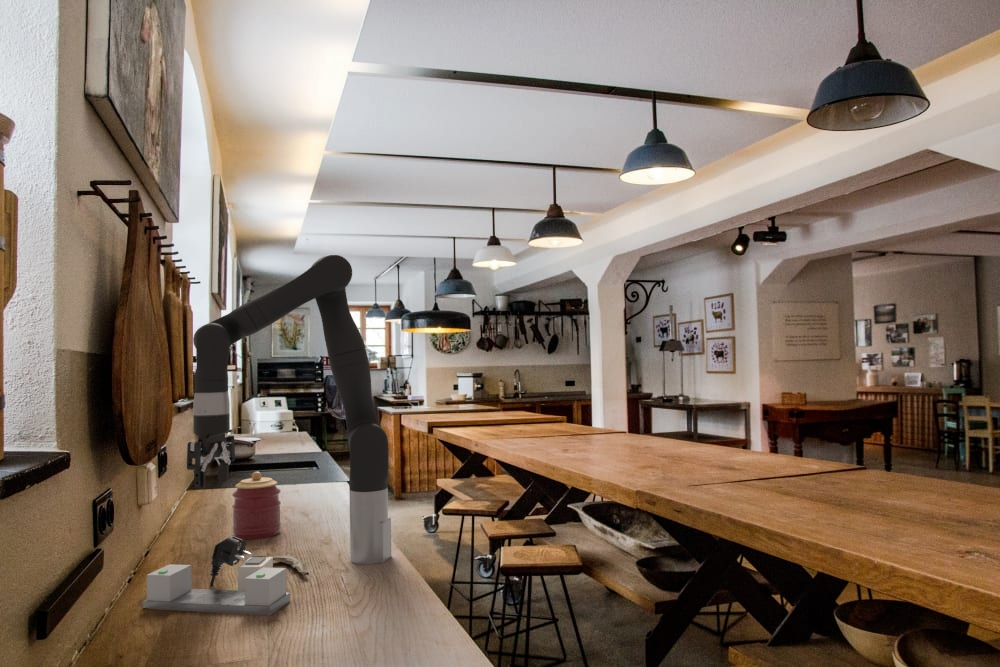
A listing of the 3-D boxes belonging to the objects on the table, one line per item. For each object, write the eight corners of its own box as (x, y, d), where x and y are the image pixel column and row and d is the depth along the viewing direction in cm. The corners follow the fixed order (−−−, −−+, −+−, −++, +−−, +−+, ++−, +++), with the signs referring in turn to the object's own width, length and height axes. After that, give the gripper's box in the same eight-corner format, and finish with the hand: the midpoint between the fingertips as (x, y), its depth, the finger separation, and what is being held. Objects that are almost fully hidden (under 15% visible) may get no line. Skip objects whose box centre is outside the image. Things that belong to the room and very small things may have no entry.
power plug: (216, 581, 154) (230, 529, 153) (245, 593, 152) (259, 541, 151) (199, 589, 148) (213, 536, 148) (229, 602, 146) (243, 548, 146)
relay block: (273, 584, 152) (272, 555, 152) (261, 595, 145) (261, 564, 145) (250, 585, 152) (250, 555, 152) (237, 596, 145) (237, 565, 145)
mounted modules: (286, 593, 140) (286, 566, 140) (269, 605, 133) (268, 577, 133) (169, 588, 144) (169, 562, 144) (146, 600, 137) (146, 572, 137)
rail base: (290, 602, 140) (289, 592, 140) (270, 617, 132) (270, 606, 132) (169, 597, 145) (168, 587, 145) (142, 611, 137) (142, 601, 137)
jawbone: (280, 559, 172) (281, 550, 172) (337, 573, 161) (337, 563, 161) (249, 563, 165) (250, 554, 165) (306, 578, 153) (306, 568, 154)
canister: (222, 539, 192) (222, 475, 193) (250, 527, 205) (249, 467, 205) (264, 541, 189) (263, 475, 190) (289, 529, 202) (289, 468, 202)
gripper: (207, 415, 148) (207, 491, 148) (244, 410, 162) (245, 480, 162) (175, 415, 150) (176, 491, 149) (215, 410, 164) (216, 479, 163)
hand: (212, 485), depth 155 cm, fingers open, 8 cm apart
